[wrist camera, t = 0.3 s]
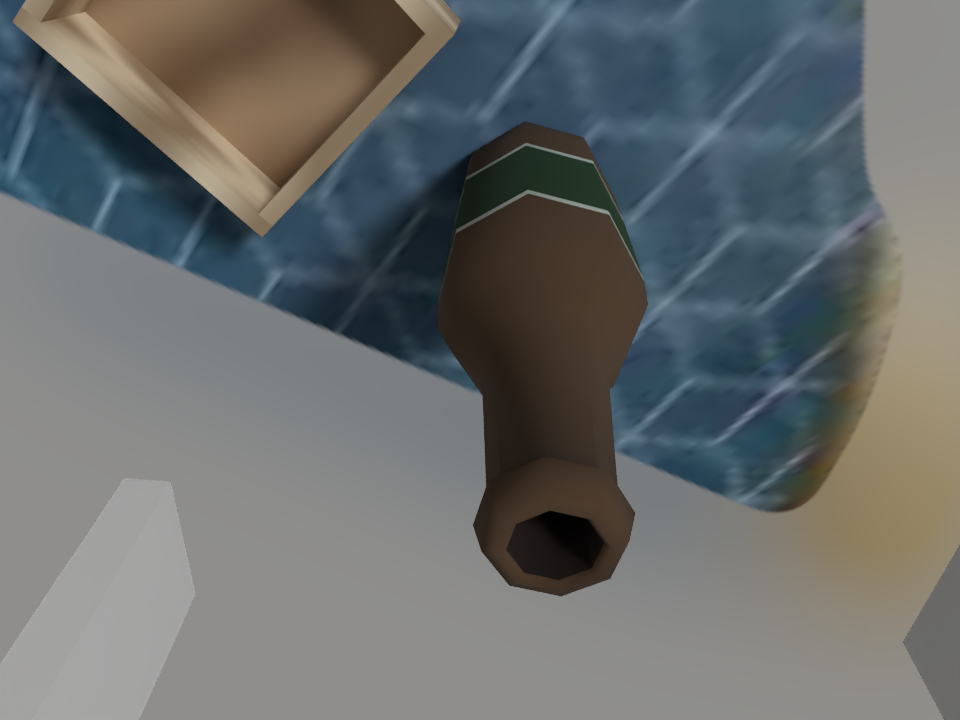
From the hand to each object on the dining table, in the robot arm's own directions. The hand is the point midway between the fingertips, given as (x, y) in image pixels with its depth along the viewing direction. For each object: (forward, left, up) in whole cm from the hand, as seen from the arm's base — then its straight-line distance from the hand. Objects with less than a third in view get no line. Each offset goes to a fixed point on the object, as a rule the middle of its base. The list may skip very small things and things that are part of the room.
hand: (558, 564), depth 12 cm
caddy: (-12, -5, -27) cm, 30 cm away
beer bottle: (+2, -2, -27) cm, 27 cm away
